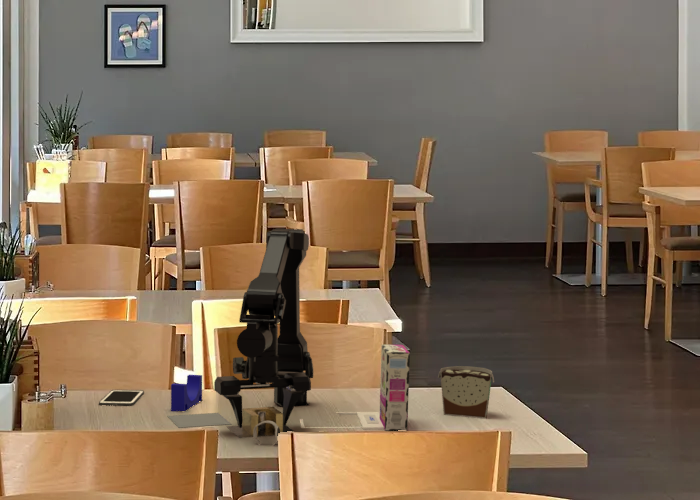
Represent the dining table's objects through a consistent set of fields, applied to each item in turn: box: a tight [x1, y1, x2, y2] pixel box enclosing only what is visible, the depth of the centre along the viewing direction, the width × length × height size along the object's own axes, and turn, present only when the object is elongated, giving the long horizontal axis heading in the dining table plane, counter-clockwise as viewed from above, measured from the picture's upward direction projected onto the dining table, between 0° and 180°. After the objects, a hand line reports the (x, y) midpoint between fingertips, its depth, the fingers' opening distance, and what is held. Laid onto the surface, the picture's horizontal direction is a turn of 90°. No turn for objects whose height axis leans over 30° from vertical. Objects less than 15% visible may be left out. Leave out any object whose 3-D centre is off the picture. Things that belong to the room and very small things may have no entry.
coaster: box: [167, 412, 233, 429], centre depth 261 cm, size 11×11×1 cm
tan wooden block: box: [242, 406, 283, 435], centre depth 252 cm, size 6×6×4 cm
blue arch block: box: [170, 374, 203, 412], centre depth 277 cm, size 12×4×6 cm, turn 168°
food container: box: [437, 365, 495, 419], centre depth 273 cm, size 12×6×10 cm, turn 71°
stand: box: [225, 411, 294, 439], centre depth 253 cm, size 12×10×4 cm
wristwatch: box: [252, 421, 280, 446], centre depth 242 cm, size 3×5×5 cm, turn 81°
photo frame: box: [299, 411, 385, 431], centre depth 264 cm, size 15×1×18 cm
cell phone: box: [98, 389, 145, 407], centre depth 283 cm, size 8×15×1 cm, turn 179°
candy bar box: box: [379, 343, 411, 432], centre depth 260 cm, size 11×5×16 cm, turn 5°
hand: (262, 425), depth 252 cm, fingers open, 9 cm apart
